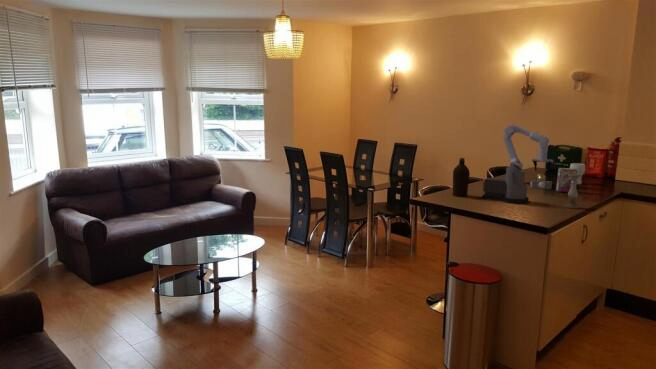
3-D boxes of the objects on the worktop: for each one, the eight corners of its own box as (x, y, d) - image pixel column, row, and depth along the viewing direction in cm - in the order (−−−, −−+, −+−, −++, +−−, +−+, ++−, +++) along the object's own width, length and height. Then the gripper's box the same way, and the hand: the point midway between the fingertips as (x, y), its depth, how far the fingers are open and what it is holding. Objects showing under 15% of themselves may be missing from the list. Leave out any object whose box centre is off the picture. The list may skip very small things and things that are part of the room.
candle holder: (574, 205, 311) (578, 173, 308) (582, 208, 303) (586, 175, 299) (560, 205, 311) (564, 172, 307) (568, 208, 303) (571, 175, 299)
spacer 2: (537, 183, 369) (538, 176, 368) (537, 182, 374) (538, 175, 373) (544, 183, 367) (545, 176, 366) (544, 182, 372) (545, 175, 371)
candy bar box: (558, 192, 353) (560, 168, 349) (555, 190, 357) (558, 167, 354) (574, 192, 351) (577, 169, 348) (572, 191, 356) (574, 168, 353)
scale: (531, 188, 366) (532, 181, 365) (530, 183, 382) (530, 177, 381) (551, 189, 362) (552, 182, 361) (548, 185, 378) (549, 178, 377)
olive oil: (458, 197, 329) (461, 159, 324) (448, 194, 338) (450, 157, 334) (471, 196, 334) (474, 158, 329) (460, 193, 343) (463, 156, 338)
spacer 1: (536, 181, 375) (537, 174, 374) (536, 180, 380) (537, 173, 379) (543, 182, 373) (544, 175, 372) (544, 181, 378) (544, 174, 377)
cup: (586, 184, 382) (588, 165, 379) (571, 184, 382) (574, 164, 379) (579, 182, 392) (581, 163, 390) (565, 182, 393) (567, 162, 390)
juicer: (533, 201, 322) (536, 163, 318) (526, 205, 309) (530, 166, 305) (486, 195, 339) (488, 159, 334) (478, 199, 326) (481, 161, 321)
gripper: (553, 153, 374) (551, 171, 376) (532, 152, 378) (530, 170, 381) (554, 154, 367) (552, 172, 370) (532, 153, 371) (531, 171, 374)
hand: (541, 171), depth 375 cm, fingers open, 7 cm apart
